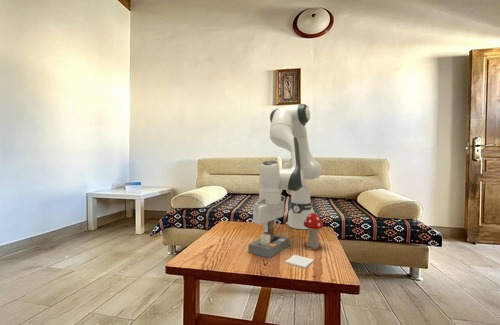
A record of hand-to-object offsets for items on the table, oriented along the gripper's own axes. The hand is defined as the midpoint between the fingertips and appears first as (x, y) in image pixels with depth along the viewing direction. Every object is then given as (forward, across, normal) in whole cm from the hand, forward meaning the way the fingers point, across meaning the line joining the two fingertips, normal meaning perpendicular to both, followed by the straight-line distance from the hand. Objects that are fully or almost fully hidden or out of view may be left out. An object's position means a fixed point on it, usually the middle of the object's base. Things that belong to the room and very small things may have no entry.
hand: (269, 230), depth 103 cm
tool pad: (+8, -4, -16) cm, 18 cm away
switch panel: (+8, +1, 0) cm, 8 cm away
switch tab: (+7, -3, 0) cm, 7 cm away
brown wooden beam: (+4, 0, 0) cm, 4 cm away
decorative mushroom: (+8, +15, -14) cm, 22 cm away
